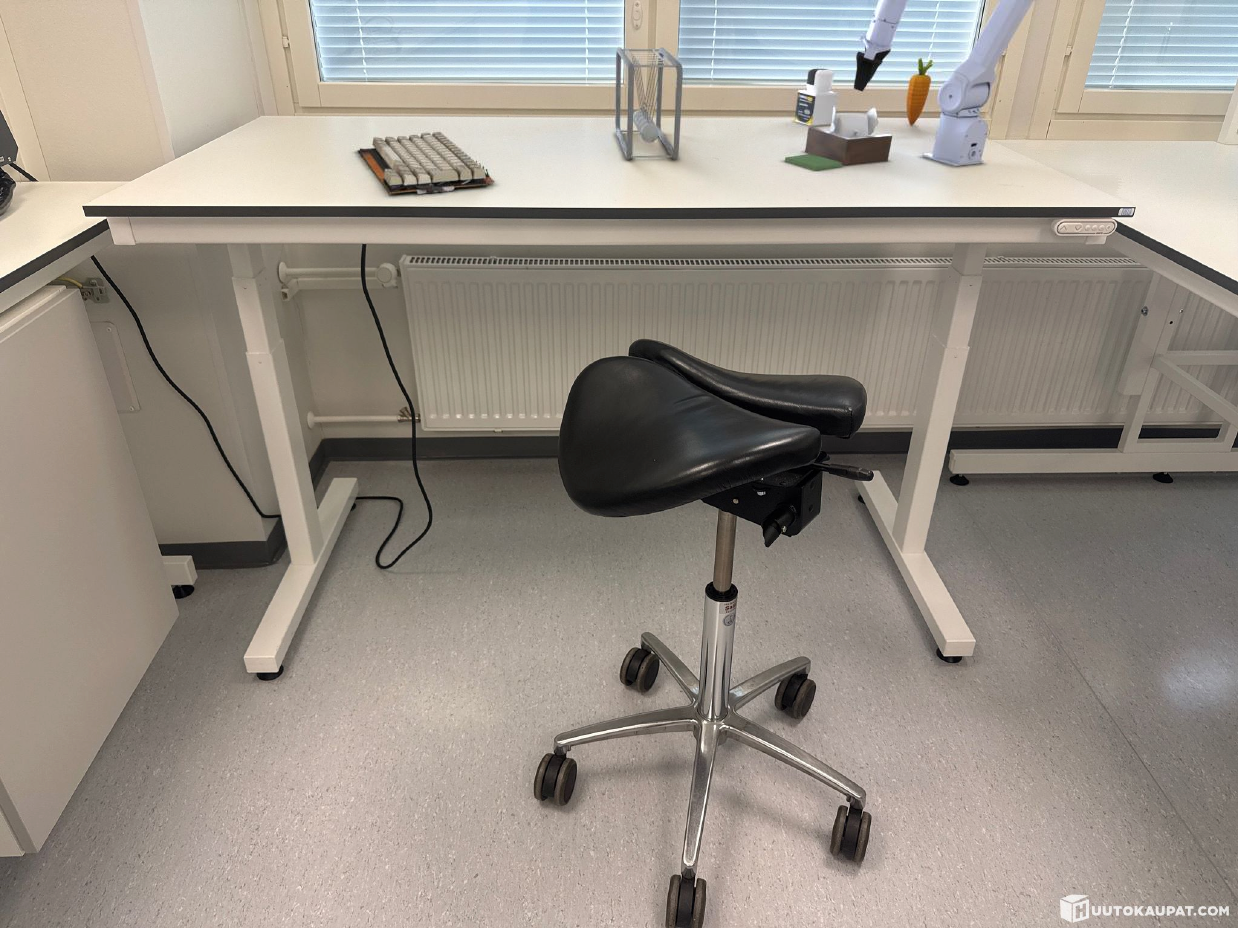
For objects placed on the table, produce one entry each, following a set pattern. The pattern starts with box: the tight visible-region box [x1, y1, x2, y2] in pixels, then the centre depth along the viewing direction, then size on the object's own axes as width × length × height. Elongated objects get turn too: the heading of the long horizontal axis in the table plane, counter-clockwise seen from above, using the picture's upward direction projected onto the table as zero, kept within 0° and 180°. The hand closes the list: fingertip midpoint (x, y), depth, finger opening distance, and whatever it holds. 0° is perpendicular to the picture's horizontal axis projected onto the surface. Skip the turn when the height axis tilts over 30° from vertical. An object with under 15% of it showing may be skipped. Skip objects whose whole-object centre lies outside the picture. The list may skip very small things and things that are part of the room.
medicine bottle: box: [794, 68, 840, 127], centre depth 198 cm, size 7×7×12 cm
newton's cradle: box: [614, 46, 684, 161], centre depth 172 cm, size 30×10×18 cm, turn 5°
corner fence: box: [804, 126, 894, 167], centre depth 170 cm, size 13×11×5 cm
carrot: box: [906, 57, 934, 126], centre depth 197 cm, size 5×5×15 cm
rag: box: [784, 153, 843, 171], centre depth 165 cm, size 9×7×1 cm
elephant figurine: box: [829, 106, 879, 138], centre depth 173 cm, size 10×12×9 cm
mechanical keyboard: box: [356, 131, 495, 195], centre depth 156 cm, size 38×19×3 cm, turn 24°
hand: (861, 85), depth 180 cm, fingers open, 7 cm apart
